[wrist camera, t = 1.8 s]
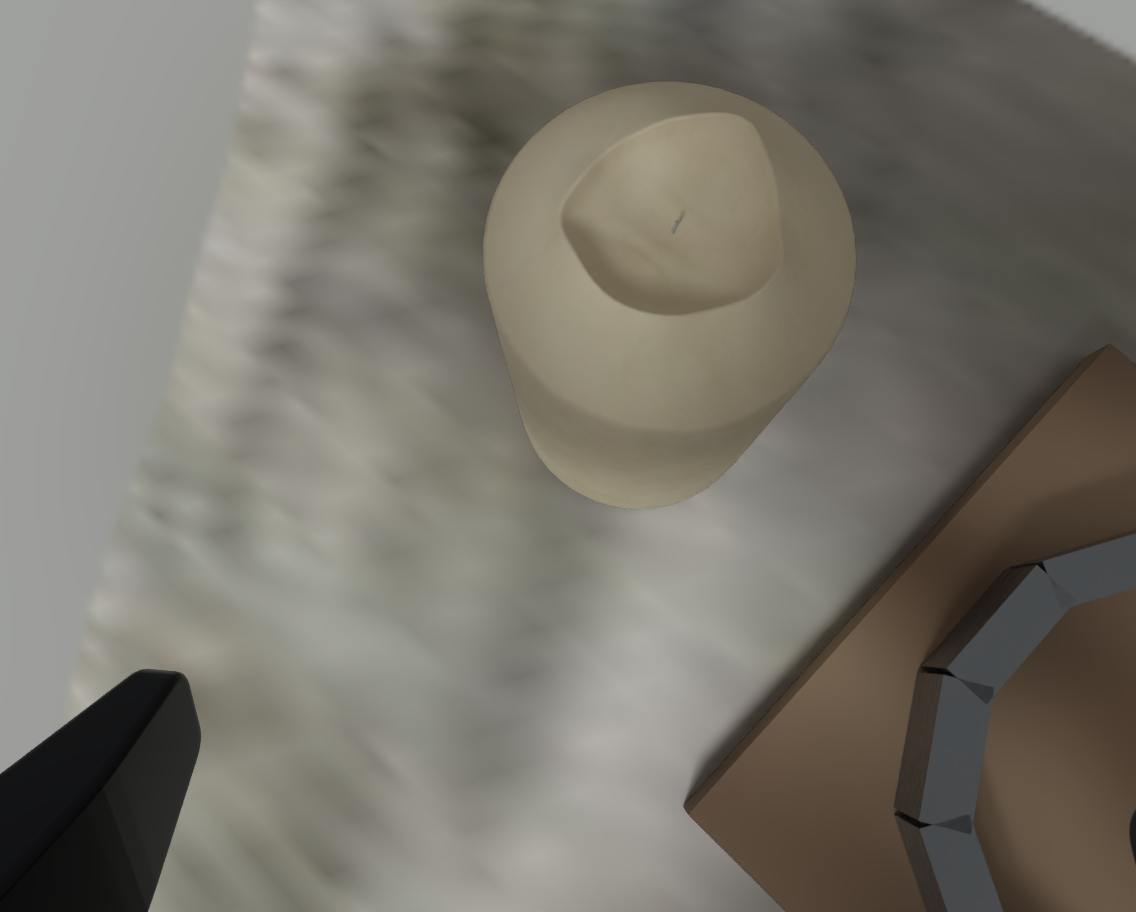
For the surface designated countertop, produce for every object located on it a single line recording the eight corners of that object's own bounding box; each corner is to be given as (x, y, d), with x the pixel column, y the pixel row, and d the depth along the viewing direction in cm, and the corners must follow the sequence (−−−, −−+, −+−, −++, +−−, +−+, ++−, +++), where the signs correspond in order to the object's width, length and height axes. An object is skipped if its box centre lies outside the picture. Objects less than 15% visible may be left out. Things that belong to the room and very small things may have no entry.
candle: (623, 240, 23) (653, -54, 13) (801, 384, 22) (973, 184, 13) (471, 407, 22) (384, 225, 13) (650, 561, 22) (706, 496, 12)
